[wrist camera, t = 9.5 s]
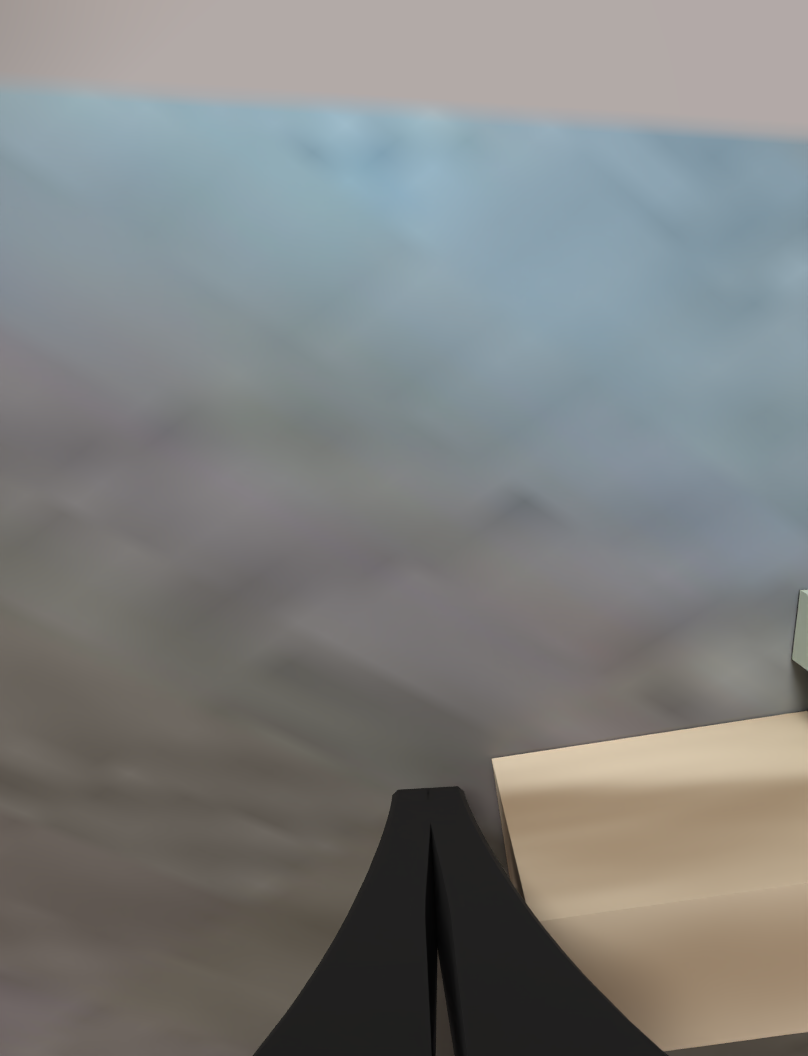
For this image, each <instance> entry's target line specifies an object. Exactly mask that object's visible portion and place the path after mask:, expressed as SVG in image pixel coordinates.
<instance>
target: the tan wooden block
mask: <svg viewBox="0 0 808 1056" xmlns="http://www.w3.org/2000/svg"><path fill="white" fill-rule="evenodd" d="M492 765H493V771H494V778H495V785H496V791H497V798H498V805H499V811H500V818H501V825H502V831H503V838H504V845H505V851H506V858H507V865H508V871H509V876H510V881H511V882H512V884H513V885H514V887H515V888H516V890H517V891H518V892H519V894H520V895H521V897H522V898H523V900H524V901H525V902H526V904H527V905H528V907H529V908H530V909H531V911H532V912H533V913H534V915H535V916H536V917H537V919H538V920H539V921H540V923H541V924H542V925H543V927H544V928H545V929H546V930H547V932H548V933H549V934H550V935H551V936H552V938H553V939H554V940H555V941H556V943H557V944H558V945H559V946H560V947H561V949H562V950H563V951H564V952H565V953H566V954H567V956H568V957H569V958H570V959H571V960H572V961H573V962H574V964H575V965H576V966H577V967H578V968H579V969H580V970H581V971H582V973H583V974H584V975H585V976H586V977H587V978H588V979H589V980H590V981H591V982H592V983H593V984H594V985H595V986H596V987H597V988H598V989H599V990H600V991H601V992H602V993H603V994H604V995H605V996H606V997H607V998H608V999H609V1000H610V1001H611V1002H612V1003H613V1004H614V1005H615V1006H616V1007H617V1008H618V1009H619V1010H620V1011H621V1012H622V1013H623V1014H624V1015H625V1016H626V1017H627V1018H628V1020H629V1021H631V1022H632V1023H633V1024H634V1025H635V1026H636V1027H637V1028H638V1029H639V1030H640V1031H642V1032H643V1033H644V1034H645V1035H646V1036H647V1037H648V1038H649V1039H650V1040H651V1041H652V1042H654V1043H655V1044H656V1045H657V1046H658V1047H659V1048H660V1049H661V1050H662V1051H670V1050H677V1049H685V1048H692V1047H699V1046H707V1045H714V1044H721V1043H729V1042H736V1041H743V1040H751V1039H758V1038H766V1037H773V1036H780V1035H788V1034H795V1033H802V1032H808V711H802V712H796V713H789V714H783V715H776V716H770V717H763V718H756V719H750V720H743V721H737V722H730V723H723V724H717V725H710V726H704V727H697V728H691V729H684V730H677V731H671V732H664V733H658V734H651V735H644V736H638V737H631V738H625V739H618V740H612V741H605V742H598V743H592V744H585V745H579V746H572V747H565V748H559V749H552V750H546V751H539V752H533V753H526V754H519V755H513V756H506V757H500V758H493V759H492Z"/></svg>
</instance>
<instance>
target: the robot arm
mask: <svg viewBox="0 0 808 1056" xmlns="http://www.w3.org/2000/svg"><path fill="white" fill-rule="evenodd" d="M437 946H438V953H439V959H440V966H441V972H442V979H443V985H444V991H445V998H446V1004H447V1011H448V1017H449V1023H450V1030H451V1036H452V1042H453V1049H454V1055H455V1056H668V1055H667V1054H666V1053H665V1052H664V1051H662V1050H661V1049H660V1048H659V1047H658V1046H657V1045H656V1044H655V1043H654V1042H652V1041H651V1040H650V1039H649V1038H648V1037H647V1036H646V1035H645V1034H644V1033H643V1032H642V1031H640V1030H639V1029H638V1028H637V1027H636V1026H635V1025H634V1024H633V1023H632V1022H631V1021H629V1020H628V1018H627V1017H626V1016H625V1015H624V1014H623V1013H622V1012H621V1011H620V1010H619V1009H618V1008H617V1007H616V1006H615V1005H614V1004H613V1003H612V1002H611V1001H610V1000H609V999H608V998H607V997H606V996H605V995H604V994H603V993H602V992H601V991H600V990H599V989H598V988H597V987H596V986H595V985H594V984H593V983H592V982H591V981H590V980H589V979H588V978H587V977H586V976H585V975H584V974H583V973H582V971H581V970H580V969H579V968H578V967H577V966H576V965H575V964H574V962H573V961H572V960H571V959H570V958H569V957H568V956H567V954H566V953H565V952H564V951H563V950H562V949H561V947H560V946H559V945H558V944H557V943H556V941H555V940H554V939H553V938H552V936H551V935H550V934H549V933H548V932H547V930H546V929H545V928H544V927H543V925H542V924H541V923H540V921H539V920H538V919H537V917H536V916H535V915H534V913H533V912H532V911H531V909H530V908H529V907H528V905H527V904H526V902H525V901H524V900H523V898H522V897H521V895H520V894H519V892H518V891H517V890H516V888H515V887H514V885H513V884H512V882H511V881H510V879H509V878H508V876H507V875H506V873H505V871H504V870H503V868H502V866H501V865H500V863H499V862H498V860H497V858H496V857H495V855H494V853H493V852H492V850H491V848H490V847H489V845H488V843H487V841H486V840H485V838H484V836H483V834H482V832H481V830H480V828H479V826H478V824H477V823H476V820H475V818H474V816H473V814H472V812H471V810H470V808H469V805H468V803H467V800H466V797H465V794H464V791H463V790H461V789H460V788H459V787H458V786H456V787H439V788H421V789H404V790H397V791H396V792H395V793H394V794H393V795H392V802H391V807H390V811H389V815H388V819H387V822H386V825H385V829H384V831H383V834H382V837H381V840H380V843H379V846H378V848H377V851H376V853H375V856H374V858H373V861H372V863H371V866H370V868H369V871H368V873H367V875H366V877H365V880H364V882H363V884H362V886H361V888H360V890H359V892H358V894H357V896H356V898H355V900H354V903H353V905H352V907H351V909H350V911H349V913H348V915H347V917H346V919H345V920H344V922H343V924H342V926H341V928H340V930H339V931H338V933H337V935H336V937H335V939H334V940H333V942H332V944H331V945H330V947H329V949H328V950H327V952H326V954H325V955H324V957H323V959H322V960H321V962H320V964H319V965H318V967H317V968H316V970H315V971H314V973H313V974H312V976H311V977H310V979H309V980H308V982H307V983H306V985H305V986H304V988H303V989H302V991H301V993H300V994H299V995H298V997H297V998H296V1000H295V1001H294V1003H293V1004H292V1005H291V1007H290V1008H289V1010H288V1011H287V1012H286V1014H285V1015H284V1016H283V1018H282V1019H281V1020H280V1021H279V1023H278V1024H277V1025H276V1027H275V1028H274V1029H273V1030H272V1032H271V1033H270V1034H269V1036H268V1037H267V1038H266V1039H265V1041H264V1042H263V1043H262V1045H261V1046H260V1047H259V1048H258V1050H257V1051H256V1052H255V1053H254V1055H253V1056H436V1003H437Z"/></svg>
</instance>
